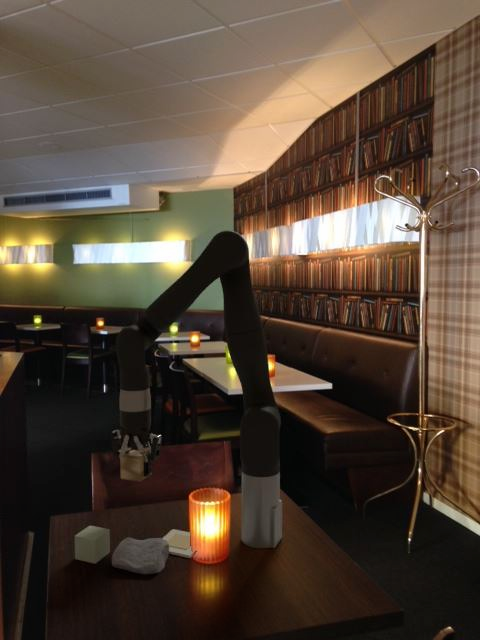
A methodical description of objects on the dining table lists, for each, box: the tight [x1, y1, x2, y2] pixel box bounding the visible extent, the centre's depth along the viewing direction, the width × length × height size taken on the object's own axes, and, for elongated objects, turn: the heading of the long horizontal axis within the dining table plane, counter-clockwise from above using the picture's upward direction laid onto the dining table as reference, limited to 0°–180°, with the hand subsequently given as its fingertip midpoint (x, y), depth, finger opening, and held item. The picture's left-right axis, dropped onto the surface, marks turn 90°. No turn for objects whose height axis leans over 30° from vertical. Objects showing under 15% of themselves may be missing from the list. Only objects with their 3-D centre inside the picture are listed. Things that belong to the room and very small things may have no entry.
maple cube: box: [119, 449, 153, 483], centre depth 130 cm, size 6×6×6 cm
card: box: [161, 528, 195, 559], centre depth 126 cm, size 10×10×1 cm
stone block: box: [111, 536, 170, 575], centre depth 118 cm, size 12×5×10 cm
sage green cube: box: [74, 525, 111, 564], centre depth 121 cm, size 6×6×6 cm
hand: (136, 473), depth 130 cm, fingers closed on maple cube, 5 cm apart
